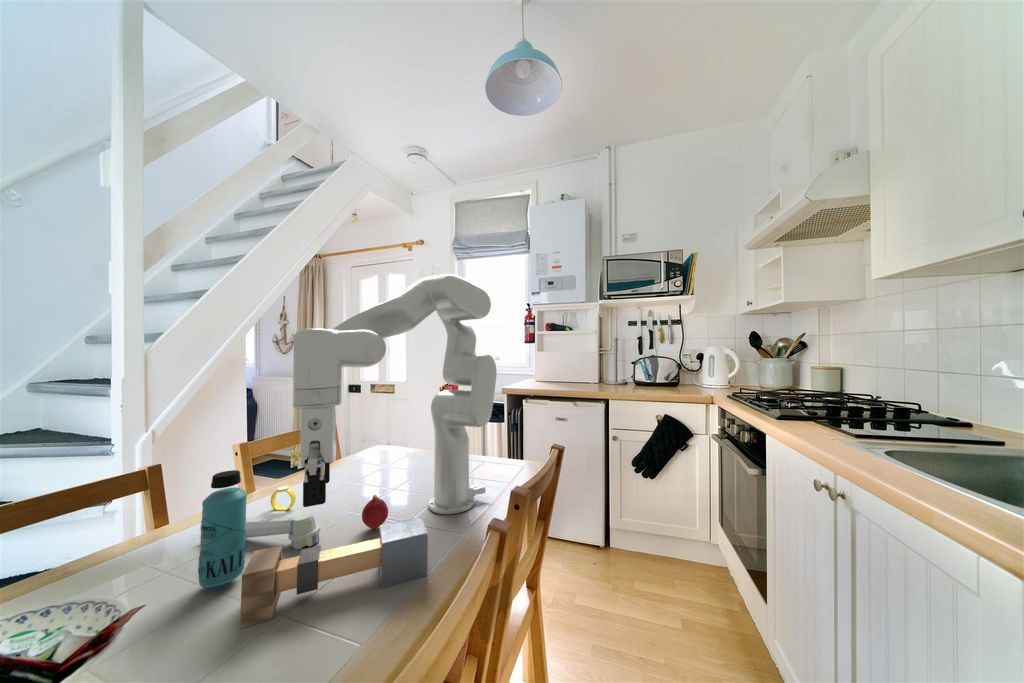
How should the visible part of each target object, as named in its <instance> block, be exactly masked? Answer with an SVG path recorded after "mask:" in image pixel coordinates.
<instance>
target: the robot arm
mask: <svg viewBox="0 0 1024 683" xmlns="http://www.w3.org/2000/svg"><path fill="white" fill-rule="evenodd" d="M491 307H492V303H491V298H490V296H489V294H488V292H486V290H485V289H484V288H482V287H481V286H478V285H477V284H474V283H473V282H471V281H470V280H468V279H465V277H462V276H460V275H456V274H452V273H446V274H439V275H433V276H428V277H423V278H421V279H419V280H418V281H415V282H414V283H413V284H411V285H410V286H408V287H406V288H405V289H404V290H402V291H400V292H399V293H398V294H396V295H394V296H393V297H391V298H389V299H388V300H386V301H384V302H381V303H378V304H377V305H374V306H373V307H371V308H368V309H367V310H363V311H362V312H359V313H357V314H355V315H353V316H351V317H349V318H347V319H346V320H344V321H343V322H341V323H339V324H338V325H336V326H334V327H333V328H331V329H330V328H303V329H299V330H297V331H295V333H294V336H293V368H292V370H293V372H292V373H293V377H292V378H293V379H292V380H293V382H292V384H293V386H292V387H293V392H292V393H293V394H292V396H293V398H292V399H293V400H292V407H293V409H299V410H300V421H299V422H300V427H299V430H300V434H299V435H300V436H299V438H300V440H299V442H300V444H299V445H300V446H299V447H300V452H299V453H300V465H301V467H303V468H304V477H303V483H302V506H303V508H309V507H313V506H314V507H315V506H319V505H324V504H325V503H326V502H327V501H326V500H327V484H328V483H330V474H331V473H330V468H331V467H330V466H331V465H332V464H334V462H335V461H336V456H337V455H336V454H337V412H336V410H337V409H336V406H339V405H342V384H343V383H342V382H343V380H342V373H343V371H342V369H343V368H369V367H372V366H375V365H377V364H378V363H380V362H381V361H382V360H383V358H384V357H385V355H386V351H387V345H386V342H385V340H384V339H385V338H389V337H394V336H398V335H401V334H405V333H406V332H409V331H412V330H414V328H416V327H417V326H419V324H421V322H423V321H424V320H425V319H427V318H428V317H429V316H430V315H431V314H433V313H434V312H435V311H436V314H437V315H438V317H439V318H440V320H441V322H442V324H443V326H444V328H445V330H446V335H447V339H446V346H445V347H446V348H445V353H444V361H443V367H442V379H443V380H444V381H445V383H447V384H448V385H453V386H459V387H460V386H461V387H471V389H470V390H464V389H463V390H462V389H445V390H441V391H439V392H438V393H437V394H435V395H434V397H433V398H432V400H431V404H430V410H431V411H430V412H431V418H432V424H433V431H434V457H433V458H434V459H433V460H434V464H433V465H434V469H433V470H434V472H433V474H434V482H433V484H434V485H433V486H434V488H433V491H434V492H433V493H434V494H433V496H432V497H431V498H430V499H429V500H428V505H427V506H428V509H429V510H430V511H432V512H433V513H436V514H440V515H455V514H459V513H464V512H466V511H468V510H470V509H471V508H472V507H474V505H475V496H476V495H483V494H485V493H486V492H487V491H486V489H487V488H486V486H484V485H482V486H479V485H478V484H475V485H470V438H469V435H468V434H469V433H468V431H467V429H466V427H472V428H481V427H484V426H486V425H488V423H489V422H490V419H491V418H492V413H493V406H494V398H495V391H496V382H497V373H498V372H497V364H496V361H495V359H494V357H493V356H492V355H491V354H489V353H486V352H476V348H477V347H476V346H477V345H476V344H477V336H476V333H475V330H474V329H473V327H472V326H471V325H470V323H469V321H468V320H480V319H484V318H485V317H487V316H488V315H489V313H490V311H491V309H492V308H491Z"/></svg>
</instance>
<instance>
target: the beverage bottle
mask: <svg viewBox="0 0 1024 683" xmlns="http://www.w3.org/2000/svg"><path fill="white" fill-rule="evenodd" d="M241 482H242V479H241V471H240V470H236V469H232V470H225V471H220V472H217V473H216V474H213V475H212V477H211V483H210V487H211V489H215V491H213V492H211V493H210V494H209V495H208V496H207V497H205V498H204V500H202V503H201V506H202V511H201V512H202V513H201V514H202V515H201V521H200V526H199V527H200V536H199V539H200V540H199V541H200V544H199V545H200V548H199V550H200V551H199V556H198V569H197V570H198V571H197V574H198V576H197V579H198V584H199V586H200V587H201V588H205V589H209V588H215V587H219V586H222V585H225V584H227V583H229V582H232V581H233V580H235V579H237V578H238V577H239V576H241V575H242V574H243V572H244V570H245V559H246V552H247V551H246V550H247V548H246V538H245V535H246V533H247V532H246V530H245V525H246V519H247V518H246V517H247V499H248V498H247V497H248V493H247V491H245V490H244V489H242V488H241V487H236V486H237V485H238V484H240V483H241ZM234 486H235V487H234ZM216 489H218V490H216Z"/></svg>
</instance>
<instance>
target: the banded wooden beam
mask: <svg viewBox="0 0 1024 683" xmlns="http://www.w3.org/2000/svg"><path fill="white" fill-rule="evenodd" d="M299 553H300V554H299V556H293V557H290V558H285V559H282V560H279V561H278V563H277V566H276V569H275V588H274V594H275V593H279V592H281V593H283V592H286V591H290V590H294V589H296V596H297V595H301V594H305V593H308V592H313V591H316V590H318V589H319V584H320V583H321V582H326V581H330V580H333V579H338V578H341V577H346V576H349V575H353V574H356V573H360V572H364V571H365V572H366V571H369V570H372V569H376V568H379V567H381V564H382V544H381V538H380V537H378V538H373V539H370V540H365V541H361V542H356V543H352V544H347V545H344V546H338V547H334V548H330V549H325V550H322V545H321V544H319V545H315V546H312V547H311V546H310V547H307V548H302V549H300V552H299Z"/></svg>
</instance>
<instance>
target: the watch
mask: <svg viewBox="0 0 1024 683" xmlns="http://www.w3.org/2000/svg"><path fill="white" fill-rule="evenodd" d="M284 492H286V493H288V495H289V498H290V501H291V502H290V503H289V506H288V507H283V506H282V507H280V506H279V505H278V504H277V501H276V497H277V494H278V493H284ZM295 503H296V494H295V492H294V490H293V489H291V488H290V485H284V486H283V485H282V486H280V487H277V489H276V491H274V492H273V493H272V495H271V496H270V505H271V507H272V509H273V510H274V511H276V510H287V511H289V510H290V509H291V508H292V507H293V506H294V505H295Z"/></svg>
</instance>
